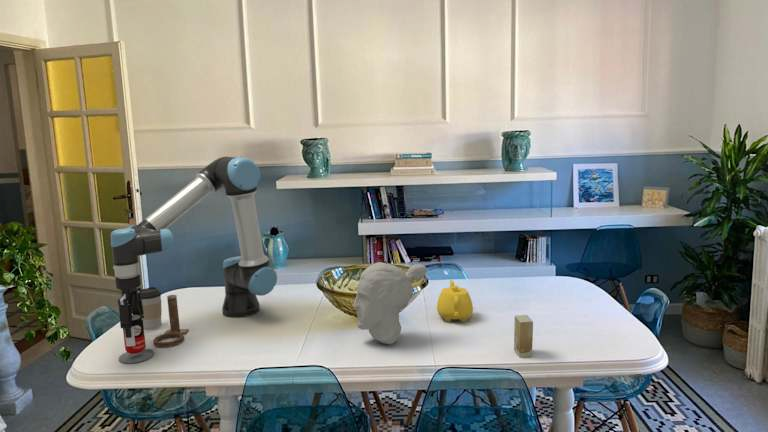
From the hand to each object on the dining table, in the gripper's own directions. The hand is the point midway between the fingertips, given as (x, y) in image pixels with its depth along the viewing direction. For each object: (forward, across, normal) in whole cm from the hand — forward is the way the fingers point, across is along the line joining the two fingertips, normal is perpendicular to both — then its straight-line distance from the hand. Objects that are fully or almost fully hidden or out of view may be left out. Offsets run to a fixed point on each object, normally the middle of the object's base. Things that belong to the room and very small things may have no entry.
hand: (134, 341), depth 189 cm
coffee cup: (+6, -29, -5) cm, 30 cm away
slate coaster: (+6, 0, 0) cm, 6 cm away
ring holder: (+6, -15, +7) cm, 17 cm away
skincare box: (+6, +13, +129) cm, 130 cm away
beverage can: (+4, 0, 0) cm, 4 cm away
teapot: (+6, -24, +113) cm, 116 cm away
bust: (+6, -4, +87) cm, 87 cm away
